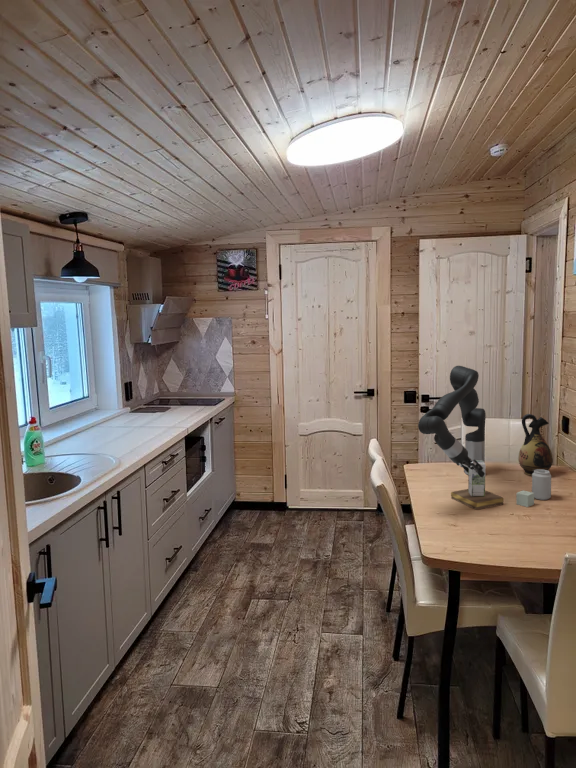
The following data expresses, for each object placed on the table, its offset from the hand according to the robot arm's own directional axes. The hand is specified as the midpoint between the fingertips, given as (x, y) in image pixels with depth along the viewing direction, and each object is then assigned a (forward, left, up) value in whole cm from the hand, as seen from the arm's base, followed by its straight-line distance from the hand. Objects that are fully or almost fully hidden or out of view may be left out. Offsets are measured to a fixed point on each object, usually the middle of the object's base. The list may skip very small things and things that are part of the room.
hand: (476, 473), depth 236 cm
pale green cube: (+12, +16, -13) cm, 23 cm away
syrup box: (0, +1, -10) cm, 10 cm away
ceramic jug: (-19, +52, -13) cm, 57 cm away
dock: (0, +1, -13) cm, 13 cm away
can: (+9, +28, -13) cm, 32 cm away
